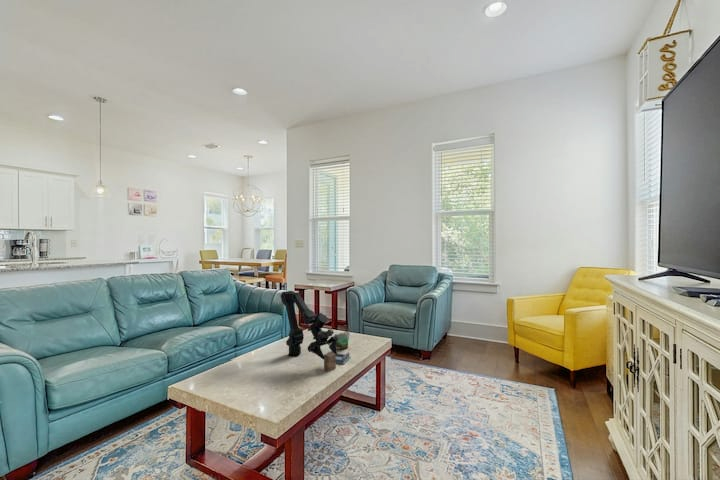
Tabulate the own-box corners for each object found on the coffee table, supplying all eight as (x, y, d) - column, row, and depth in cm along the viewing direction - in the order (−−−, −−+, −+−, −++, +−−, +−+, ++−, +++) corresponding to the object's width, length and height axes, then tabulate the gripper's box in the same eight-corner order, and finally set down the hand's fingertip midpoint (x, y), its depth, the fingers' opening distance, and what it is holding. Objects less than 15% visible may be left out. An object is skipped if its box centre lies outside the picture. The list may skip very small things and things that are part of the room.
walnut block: (324, 369, 180) (324, 354, 180) (330, 366, 184) (330, 352, 184) (328, 371, 177) (328, 356, 177) (335, 368, 181) (335, 354, 181)
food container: (341, 351, 208) (341, 336, 208) (334, 349, 212) (334, 334, 212) (353, 346, 218) (353, 331, 218) (346, 345, 222) (346, 330, 222)
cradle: (326, 362, 190) (326, 356, 190) (333, 355, 201) (333, 350, 201) (344, 364, 187) (344, 358, 187) (350, 357, 197) (350, 352, 197)
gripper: (310, 327, 177) (324, 353, 169) (336, 321, 191) (349, 344, 183) (301, 339, 182) (314, 364, 175) (327, 332, 196) (340, 355, 188)
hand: (330, 356), depth 180 cm, fingers open, 8 cm apart
